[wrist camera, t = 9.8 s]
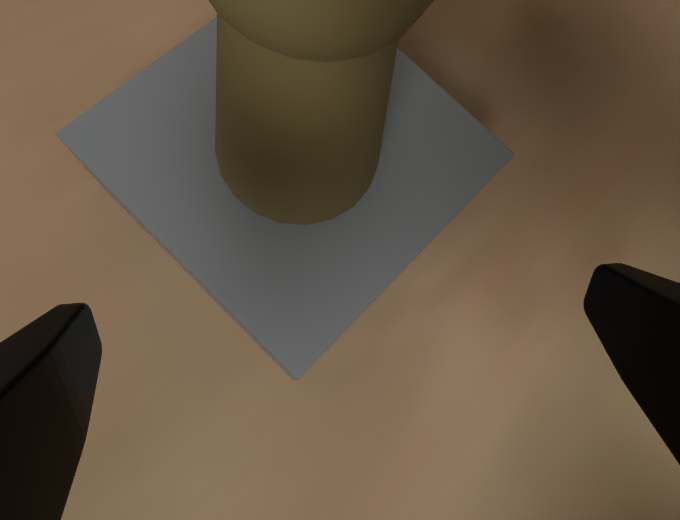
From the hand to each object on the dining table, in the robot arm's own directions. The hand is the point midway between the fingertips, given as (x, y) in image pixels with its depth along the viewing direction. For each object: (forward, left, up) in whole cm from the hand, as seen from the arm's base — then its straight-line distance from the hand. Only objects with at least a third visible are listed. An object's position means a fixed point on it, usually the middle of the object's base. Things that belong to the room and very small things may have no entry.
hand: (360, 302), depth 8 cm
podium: (+6, -4, -12) cm, 14 cm away
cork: (+6, -4, -8) cm, 11 cm away
